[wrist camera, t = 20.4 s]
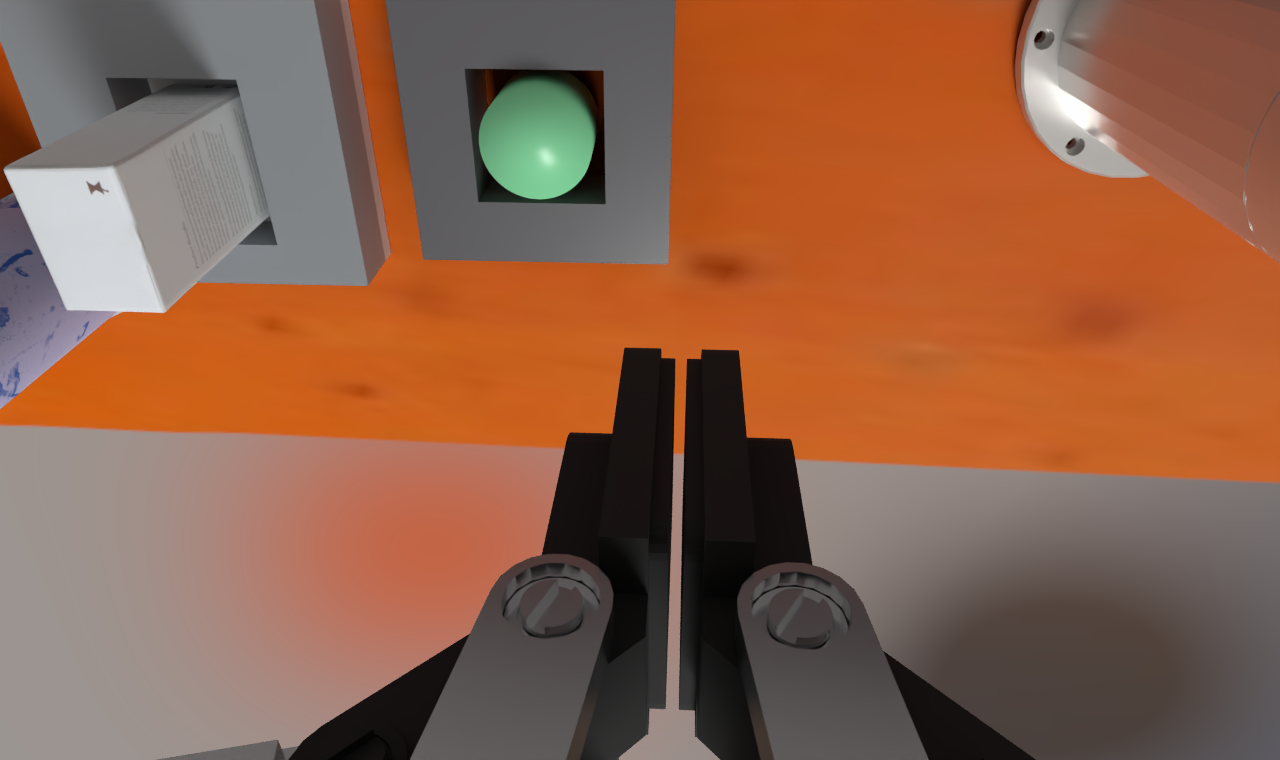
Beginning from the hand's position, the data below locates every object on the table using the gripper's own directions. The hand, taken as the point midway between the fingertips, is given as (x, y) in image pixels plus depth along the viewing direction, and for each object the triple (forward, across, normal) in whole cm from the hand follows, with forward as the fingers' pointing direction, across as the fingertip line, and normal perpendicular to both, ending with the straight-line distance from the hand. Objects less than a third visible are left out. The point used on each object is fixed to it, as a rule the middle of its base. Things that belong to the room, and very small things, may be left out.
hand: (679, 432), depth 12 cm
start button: (+30, +7, +4) cm, 31 cm away
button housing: (+31, +7, +4) cm, 32 cm away
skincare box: (+30, +22, +5) cm, 37 cm away
